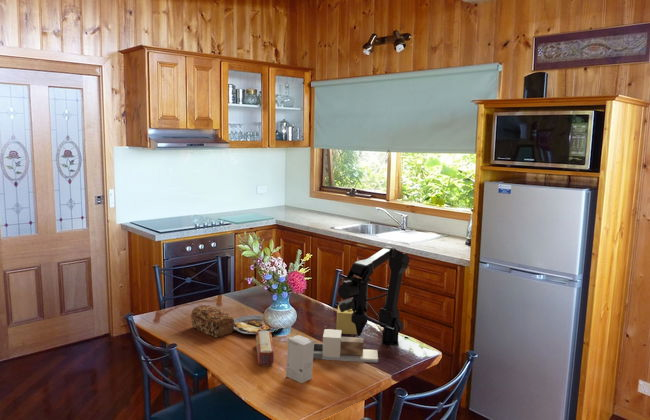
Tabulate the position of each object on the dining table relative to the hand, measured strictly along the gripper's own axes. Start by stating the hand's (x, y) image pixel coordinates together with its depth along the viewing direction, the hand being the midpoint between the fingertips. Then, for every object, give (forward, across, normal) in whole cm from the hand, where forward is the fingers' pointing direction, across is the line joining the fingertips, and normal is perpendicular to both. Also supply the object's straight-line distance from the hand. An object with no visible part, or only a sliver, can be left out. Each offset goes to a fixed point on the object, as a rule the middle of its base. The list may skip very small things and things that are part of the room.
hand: (358, 331), depth 216 cm
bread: (+11, -19, -65) cm, 69 cm away
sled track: (+10, 0, -5) cm, 12 cm away
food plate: (+11, -25, -46) cm, 54 cm away
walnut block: (+9, 0, -5) cm, 10 cm away
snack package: (+11, +4, -37) cm, 39 cm away
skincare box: (+11, +22, -21) cm, 32 cm away
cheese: (+11, -28, -5) cm, 30 cm away
